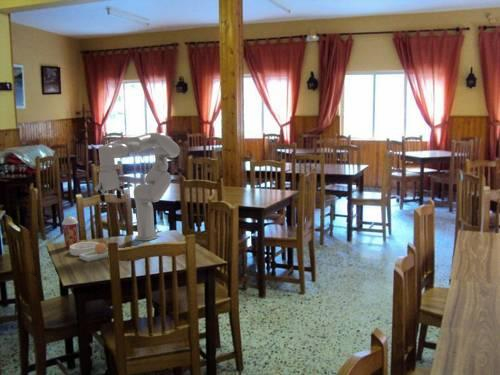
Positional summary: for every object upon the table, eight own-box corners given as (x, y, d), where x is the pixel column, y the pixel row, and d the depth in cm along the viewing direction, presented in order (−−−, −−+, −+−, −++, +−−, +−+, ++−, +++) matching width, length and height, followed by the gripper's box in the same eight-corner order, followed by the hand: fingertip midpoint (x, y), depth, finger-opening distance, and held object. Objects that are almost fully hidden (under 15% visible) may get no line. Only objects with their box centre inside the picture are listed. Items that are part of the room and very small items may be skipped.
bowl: (90, 246, 291) (90, 240, 291) (104, 251, 281) (104, 244, 280) (65, 252, 281) (64, 245, 280) (78, 257, 271) (77, 250, 270)
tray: (107, 251, 279) (107, 247, 279) (116, 255, 273) (116, 250, 273) (79, 258, 268) (79, 254, 268) (88, 261, 262) (87, 257, 262)
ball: (100, 255, 275) (104, 244, 276) (106, 257, 270) (110, 246, 272) (90, 251, 271) (95, 240, 272) (96, 253, 266) (101, 242, 268)
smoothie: (82, 244, 295) (79, 209, 292) (76, 248, 287) (73, 212, 284) (68, 244, 296) (65, 209, 293) (61, 248, 288) (58, 212, 285)
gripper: (118, 165, 288) (121, 196, 292) (89, 170, 276) (93, 202, 280) (125, 166, 283) (128, 197, 286) (96, 171, 271) (100, 204, 274)
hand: (111, 200), depth 283 cm, fingers open, 9 cm apart
